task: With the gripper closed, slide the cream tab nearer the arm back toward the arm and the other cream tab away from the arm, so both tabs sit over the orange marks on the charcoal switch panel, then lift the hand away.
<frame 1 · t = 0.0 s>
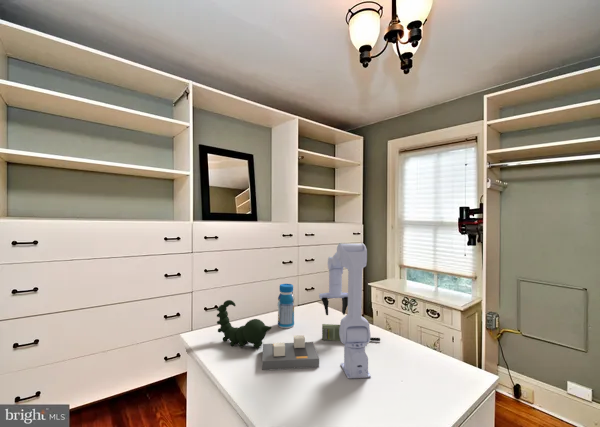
hand: (335, 314, 127), 10 cm above the table, tool pointing down, fingers open, 7 cm apart
beverage bottle: (285, 325, 140), on the table
switch panel: (289, 358, 106), on the table
tab a: (299, 341, 110), point 5 cm above the table, slide at 6.0 cm
tab b: (279, 349, 103), point 5 cm above the table, slide at 0.0 cm
toy figurine: (243, 345, 118), on the table
handheld radio: (350, 341, 123), on the table
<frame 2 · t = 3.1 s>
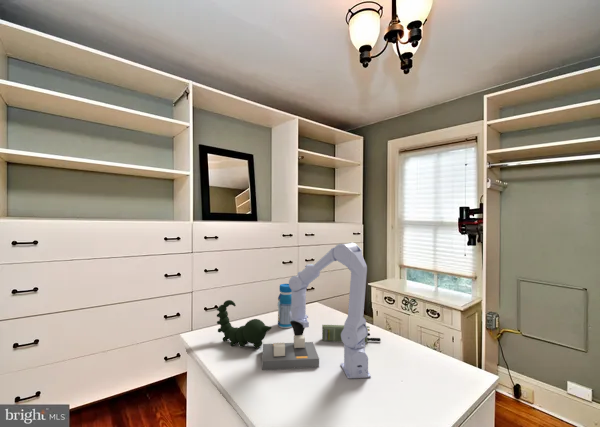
hand: (298, 339, 113), 4 cm above the table, tool pointing down, fingers closed
tab a: (299, 341, 110), point 5 cm above the table, slide at 6.0 cm, touching gripper
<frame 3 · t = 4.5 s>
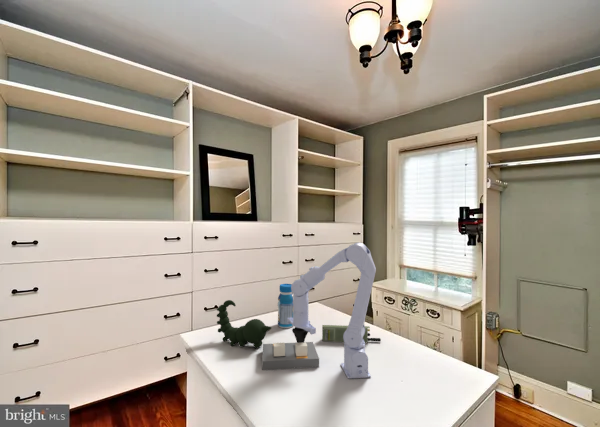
hand: (300, 347, 106), 4 cm above the table, tool pointing down, fingers closed
tab a: (301, 349, 103), point 5 cm above the table, slide at -0.6 cm, touching gripper
everything else where it was.
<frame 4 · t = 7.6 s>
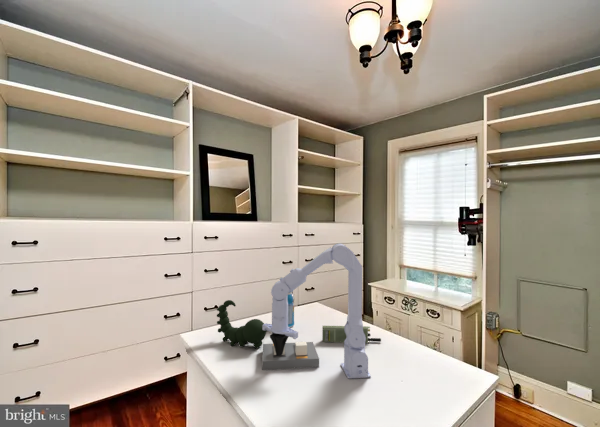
hand: (279, 354, 100), 4 cm above the table, tool pointing down, fingers closed
tab a: (301, 348, 104), point 5 cm above the table, slide at -0.1 cm
tab b: (279, 348, 104), point 5 cm above the table, slide at 1.0 cm, touching gripper
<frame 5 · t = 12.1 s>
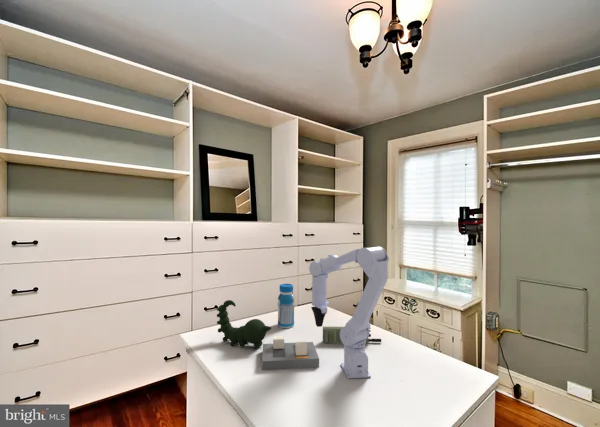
hand: (319, 325, 112), 10 cm above the table, tool pointing down, fingers closed
tab b: (278, 342, 109), point 5 cm above the table, slide at 6.1 cm
at the end: tab a slide at -0.1 cm; tab b slide at 6.1 cm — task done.
